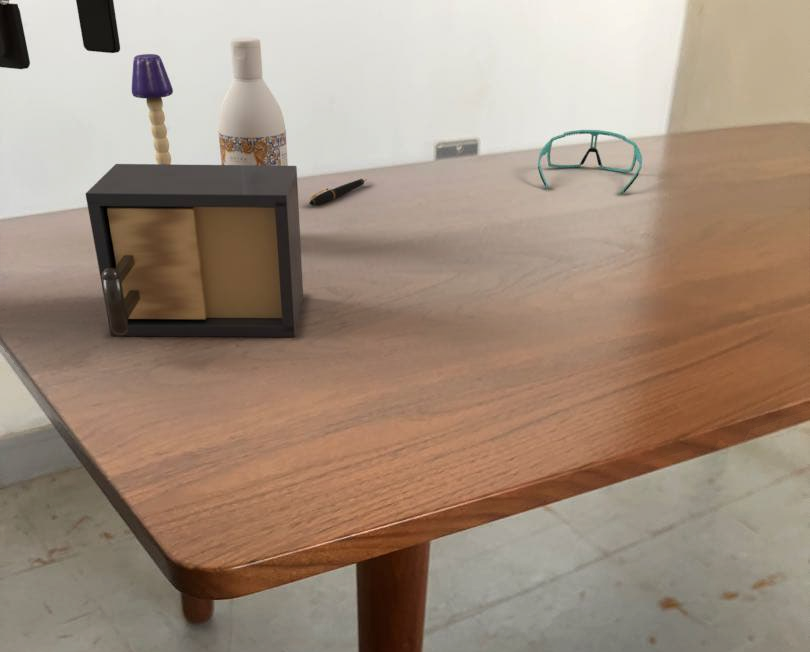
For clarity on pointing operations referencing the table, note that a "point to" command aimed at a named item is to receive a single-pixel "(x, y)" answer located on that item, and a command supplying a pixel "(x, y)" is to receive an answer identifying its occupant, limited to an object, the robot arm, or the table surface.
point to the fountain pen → (334, 192)
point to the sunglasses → (592, 149)
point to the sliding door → (153, 266)
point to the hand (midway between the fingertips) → (59, 58)
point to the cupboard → (219, 242)
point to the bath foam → (250, 113)
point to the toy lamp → (153, 98)
